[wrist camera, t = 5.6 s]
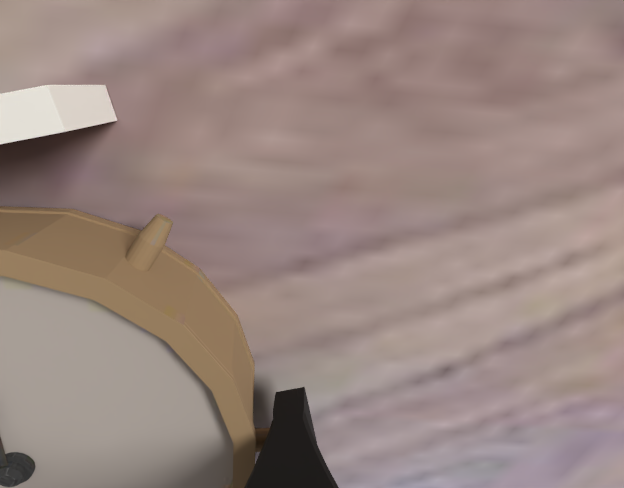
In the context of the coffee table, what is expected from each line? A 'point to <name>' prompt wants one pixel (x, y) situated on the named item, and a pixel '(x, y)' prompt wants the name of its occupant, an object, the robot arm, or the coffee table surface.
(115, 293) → the alarm clock
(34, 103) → the clock dock
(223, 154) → the coffee table surface
